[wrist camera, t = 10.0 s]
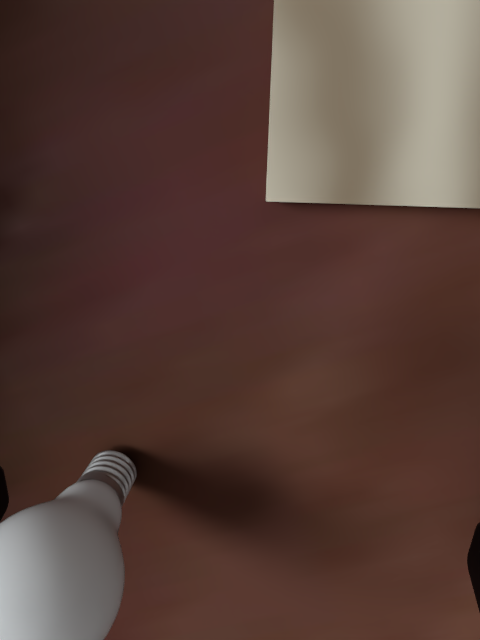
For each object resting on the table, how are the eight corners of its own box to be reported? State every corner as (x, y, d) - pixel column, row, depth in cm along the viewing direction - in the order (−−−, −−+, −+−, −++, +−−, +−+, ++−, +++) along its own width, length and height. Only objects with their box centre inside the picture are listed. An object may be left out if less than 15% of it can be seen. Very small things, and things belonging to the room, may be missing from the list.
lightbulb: (141, 401, 23) (16, 592, 13) (189, 492, 25) (115, 724, 14) (46, 432, 24) (-134, 625, 14) (98, 515, 26) (-29, 741, 16)
